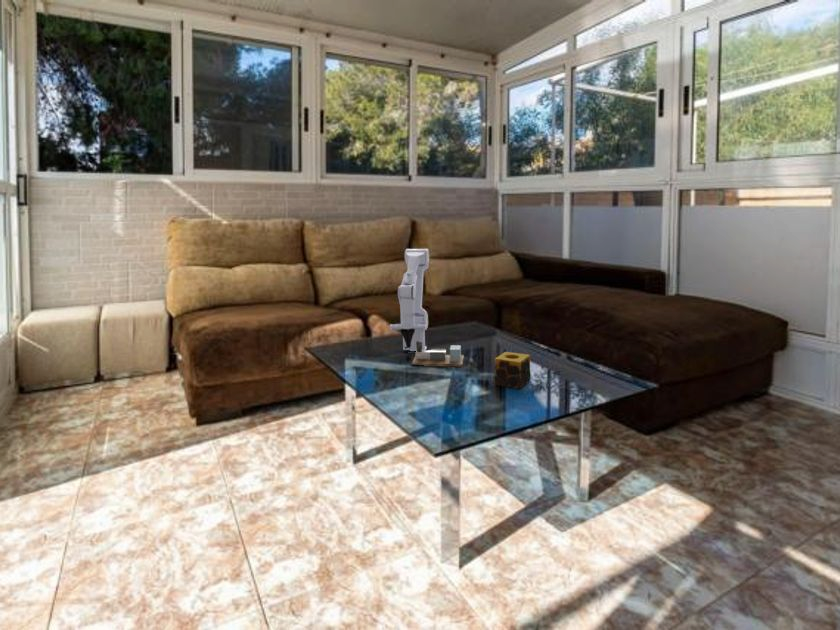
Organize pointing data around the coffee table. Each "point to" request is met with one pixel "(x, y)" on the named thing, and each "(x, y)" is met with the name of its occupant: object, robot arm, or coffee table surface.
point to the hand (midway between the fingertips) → (408, 347)
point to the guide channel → (437, 355)
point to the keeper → (455, 353)
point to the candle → (512, 370)
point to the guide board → (438, 362)
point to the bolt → (424, 351)
